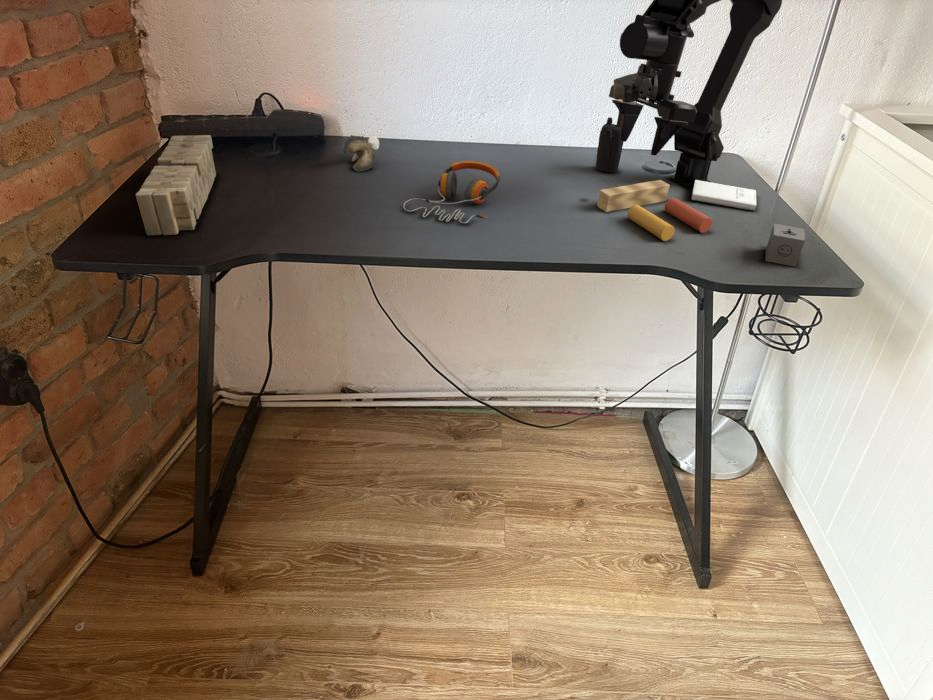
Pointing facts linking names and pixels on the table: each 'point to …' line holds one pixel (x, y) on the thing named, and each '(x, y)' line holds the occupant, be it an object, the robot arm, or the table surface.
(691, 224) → the terracotta rod
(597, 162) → the two-way radio
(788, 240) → the dice cube
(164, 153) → the block tower
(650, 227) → the ochre rod
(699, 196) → the hard drive
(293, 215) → the table surface
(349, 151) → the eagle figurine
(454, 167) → the headphones
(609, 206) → the light wooden bar
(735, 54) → the robot arm
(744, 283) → the table surface
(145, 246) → the table surface
